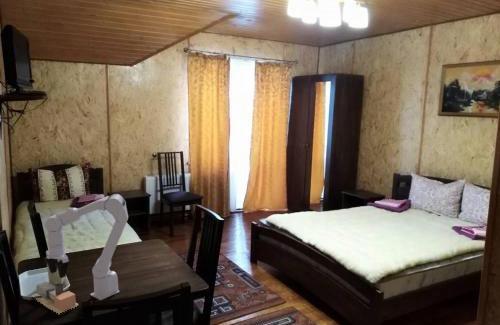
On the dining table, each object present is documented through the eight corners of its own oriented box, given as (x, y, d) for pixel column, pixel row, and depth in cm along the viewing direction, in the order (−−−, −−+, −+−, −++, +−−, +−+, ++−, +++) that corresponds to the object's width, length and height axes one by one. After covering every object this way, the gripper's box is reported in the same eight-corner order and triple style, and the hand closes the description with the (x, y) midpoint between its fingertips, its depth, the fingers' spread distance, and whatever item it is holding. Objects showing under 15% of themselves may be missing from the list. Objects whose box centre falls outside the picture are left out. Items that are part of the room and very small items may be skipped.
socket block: (69, 301, 156) (68, 290, 156) (75, 305, 153) (75, 294, 153) (54, 307, 152) (54, 296, 151) (61, 311, 149) (60, 300, 148)
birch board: (50, 290, 168) (50, 288, 168) (78, 306, 154) (78, 304, 154) (31, 297, 162) (31, 295, 161) (58, 314, 148) (58, 312, 148)
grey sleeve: (47, 290, 166) (46, 281, 165) (56, 296, 161) (55, 286, 160) (37, 294, 162) (36, 285, 162) (46, 299, 158) (45, 290, 157)
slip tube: (51, 293, 162) (49, 277, 161) (69, 303, 153) (68, 286, 152) (45, 295, 160) (44, 279, 159) (63, 305, 151) (62, 289, 150)
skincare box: (66, 280, 179) (64, 255, 177) (61, 284, 174) (60, 259, 173) (52, 280, 178) (50, 255, 177) (48, 284, 174) (46, 259, 172)
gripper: (37, 242, 159) (40, 273, 161) (55, 250, 151) (57, 282, 152) (54, 238, 165) (56, 268, 167) (72, 245, 156) (74, 276, 158)
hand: (58, 274), depth 160 cm, fingers open, 7 cm apart
